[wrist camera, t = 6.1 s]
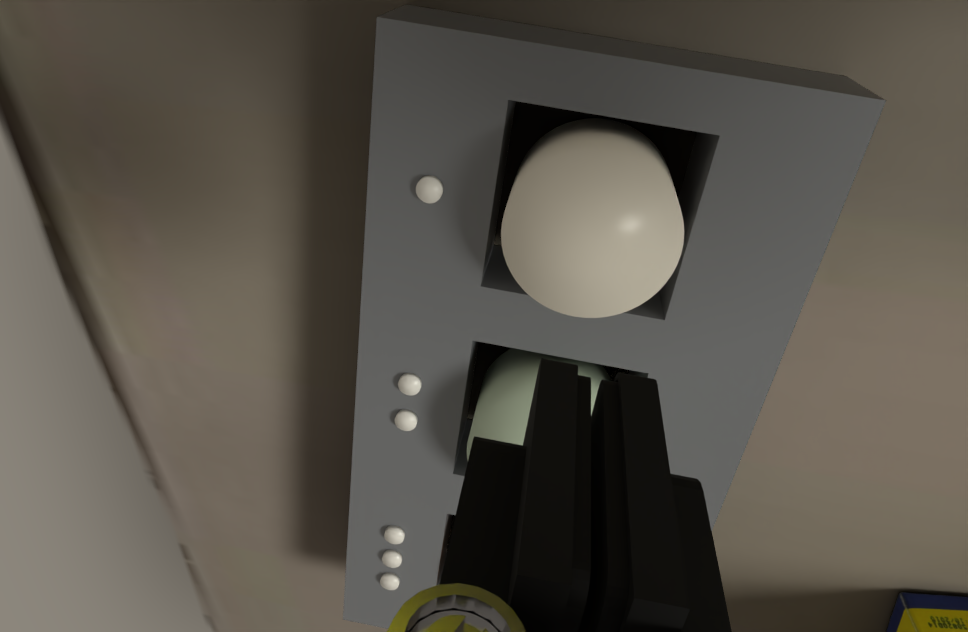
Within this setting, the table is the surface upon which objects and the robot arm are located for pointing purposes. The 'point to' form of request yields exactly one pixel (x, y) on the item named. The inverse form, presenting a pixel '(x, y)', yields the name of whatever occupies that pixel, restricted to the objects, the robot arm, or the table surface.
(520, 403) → the button sage
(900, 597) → the supplement box
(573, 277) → the button cream
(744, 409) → the panel
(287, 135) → the table surface
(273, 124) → the table surface
